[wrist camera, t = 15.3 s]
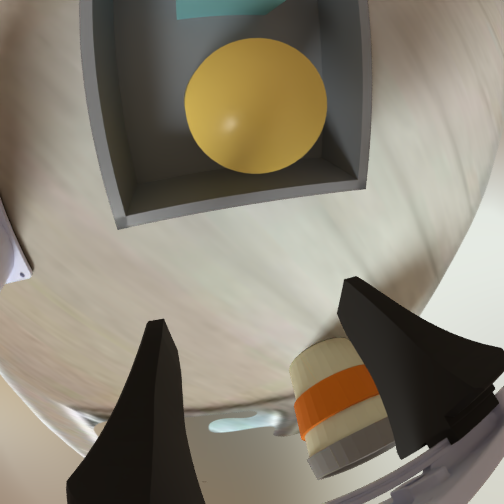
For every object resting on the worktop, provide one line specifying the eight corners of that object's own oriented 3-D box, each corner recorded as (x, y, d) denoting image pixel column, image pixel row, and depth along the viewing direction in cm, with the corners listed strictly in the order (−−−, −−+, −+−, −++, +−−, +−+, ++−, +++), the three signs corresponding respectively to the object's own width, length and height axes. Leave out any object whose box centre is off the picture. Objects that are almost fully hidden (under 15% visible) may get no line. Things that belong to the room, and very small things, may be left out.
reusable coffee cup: (346, 373, 38) (386, 452, 26) (269, 392, 35) (302, 486, 23) (376, 318, 31) (439, 413, 19) (284, 338, 28) (338, 466, 16)
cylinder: (194, 147, 15) (203, 188, 10) (176, 68, 12) (172, 52, 7) (275, 130, 16) (331, 160, 10) (263, 53, 13) (318, 35, 7)
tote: (325, 162, 18) (365, 189, 14) (132, 192, 16) (117, 229, 12) (313, -54, 8) (352, -80, 4) (107, -45, 6) (88, -78, 2)
